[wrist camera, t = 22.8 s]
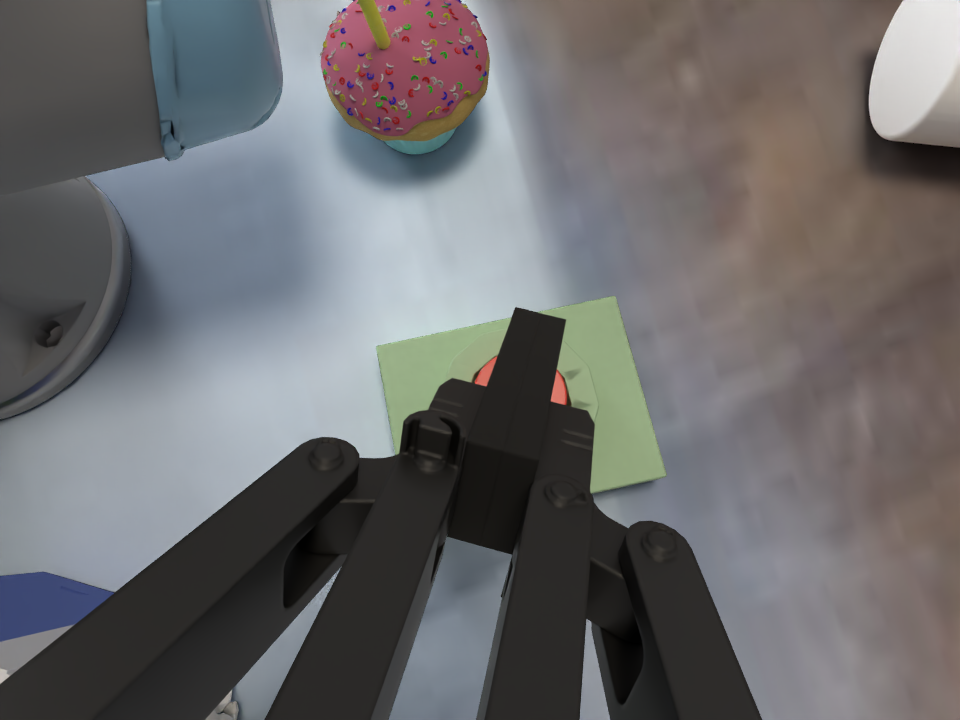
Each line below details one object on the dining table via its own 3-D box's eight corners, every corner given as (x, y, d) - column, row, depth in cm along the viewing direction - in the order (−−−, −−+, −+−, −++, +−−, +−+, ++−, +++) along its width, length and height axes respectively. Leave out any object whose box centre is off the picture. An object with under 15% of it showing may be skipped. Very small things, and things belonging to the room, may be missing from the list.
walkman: (19, 631, 30) (-285, 698, 18) (44, 571, 30) (-234, 598, 19) (174, 679, 29) (-38, 781, 17) (196, 617, 30) (6, 675, 18)
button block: (415, 533, 31) (403, 534, 27) (383, 357, 33) (368, 334, 29) (655, 479, 31) (678, 473, 27) (607, 309, 33) (622, 281, 29)
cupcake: (433, 210, 35) (403, 53, 23) (311, 136, 36) (226, -47, 25) (518, 97, 37) (529, -101, 25) (399, 30, 38) (358, -187, 26)
